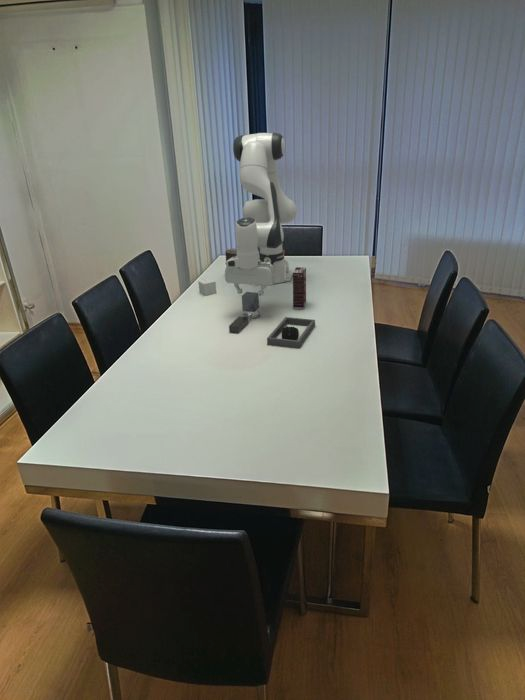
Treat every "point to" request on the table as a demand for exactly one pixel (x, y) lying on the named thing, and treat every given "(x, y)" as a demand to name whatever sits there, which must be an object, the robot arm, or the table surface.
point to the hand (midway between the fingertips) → (250, 294)
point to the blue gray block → (250, 301)
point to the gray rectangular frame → (285, 342)
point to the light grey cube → (207, 287)
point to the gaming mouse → (290, 333)
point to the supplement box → (299, 288)
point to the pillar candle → (230, 253)
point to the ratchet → (243, 321)
